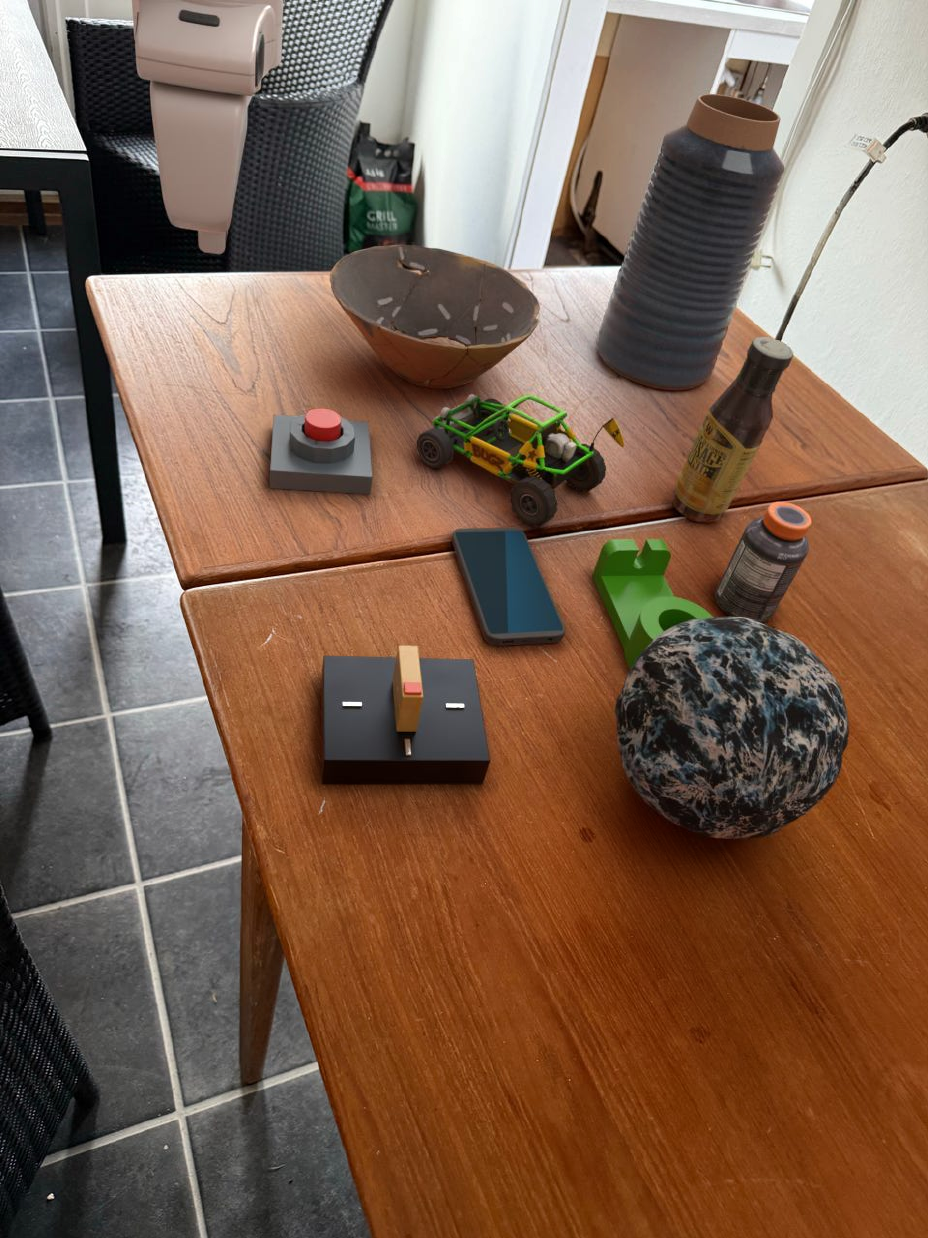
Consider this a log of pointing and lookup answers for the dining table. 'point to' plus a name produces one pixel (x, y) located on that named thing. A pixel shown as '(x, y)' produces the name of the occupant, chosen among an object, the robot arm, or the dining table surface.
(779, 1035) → the dining table surface
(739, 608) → the pill bottle
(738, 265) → the vase
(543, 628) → the smartphone
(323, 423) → the bell button
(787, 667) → the decorative stone
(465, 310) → the bowl
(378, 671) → the plate
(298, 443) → the grey button base
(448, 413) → the motor vehicle
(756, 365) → the sauce bottle
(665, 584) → the tape dispenser
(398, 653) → the thumb turn
